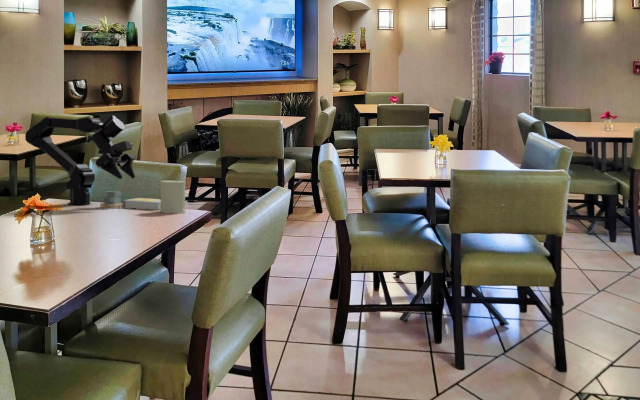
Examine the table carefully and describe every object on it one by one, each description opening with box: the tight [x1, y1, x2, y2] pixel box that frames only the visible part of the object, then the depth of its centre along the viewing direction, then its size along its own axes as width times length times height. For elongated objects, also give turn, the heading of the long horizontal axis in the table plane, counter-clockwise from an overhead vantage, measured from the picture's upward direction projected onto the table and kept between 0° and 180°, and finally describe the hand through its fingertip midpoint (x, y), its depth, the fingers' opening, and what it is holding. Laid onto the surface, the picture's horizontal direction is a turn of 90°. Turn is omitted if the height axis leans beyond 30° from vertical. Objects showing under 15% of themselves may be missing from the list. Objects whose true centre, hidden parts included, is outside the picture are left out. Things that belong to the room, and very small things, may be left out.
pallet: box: [99, 190, 124, 209], centre depth 229 cm, size 7×6×6 cm
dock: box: [123, 197, 161, 211], centre depth 232 cm, size 14×11×3 cm
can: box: [159, 179, 186, 215], centre depth 222 cm, size 9×9×12 cm
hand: (127, 178), depth 227 cm, fingers open, 9 cm apart
